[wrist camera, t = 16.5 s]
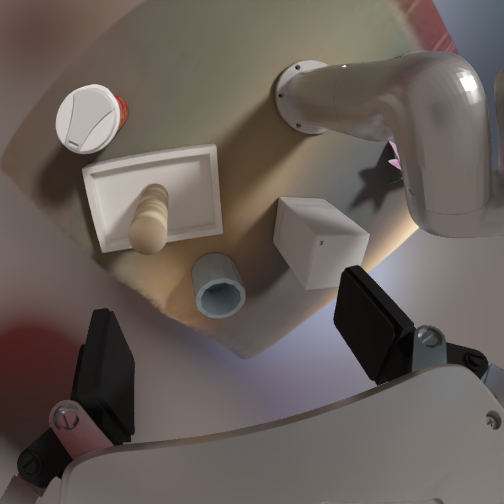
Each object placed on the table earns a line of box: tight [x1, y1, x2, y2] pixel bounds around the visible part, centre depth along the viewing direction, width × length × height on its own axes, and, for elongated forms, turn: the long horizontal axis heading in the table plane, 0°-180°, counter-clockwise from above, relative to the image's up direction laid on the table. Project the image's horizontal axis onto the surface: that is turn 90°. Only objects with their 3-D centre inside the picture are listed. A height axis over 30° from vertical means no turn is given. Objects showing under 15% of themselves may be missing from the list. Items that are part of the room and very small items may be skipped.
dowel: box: [128, 183, 169, 255], centre depth 37 cm, size 4×4×14 cm
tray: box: [82, 143, 223, 253], centre depth 42 cm, size 20×14×3 cm
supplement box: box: [273, 197, 370, 290], centre depth 46 cm, size 9×9×15 cm
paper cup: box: [56, 84, 128, 154], centre depth 30 cm, size 8×8×14 cm
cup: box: [191, 253, 246, 319], centre depth 50 cm, size 8×8×8 cm
